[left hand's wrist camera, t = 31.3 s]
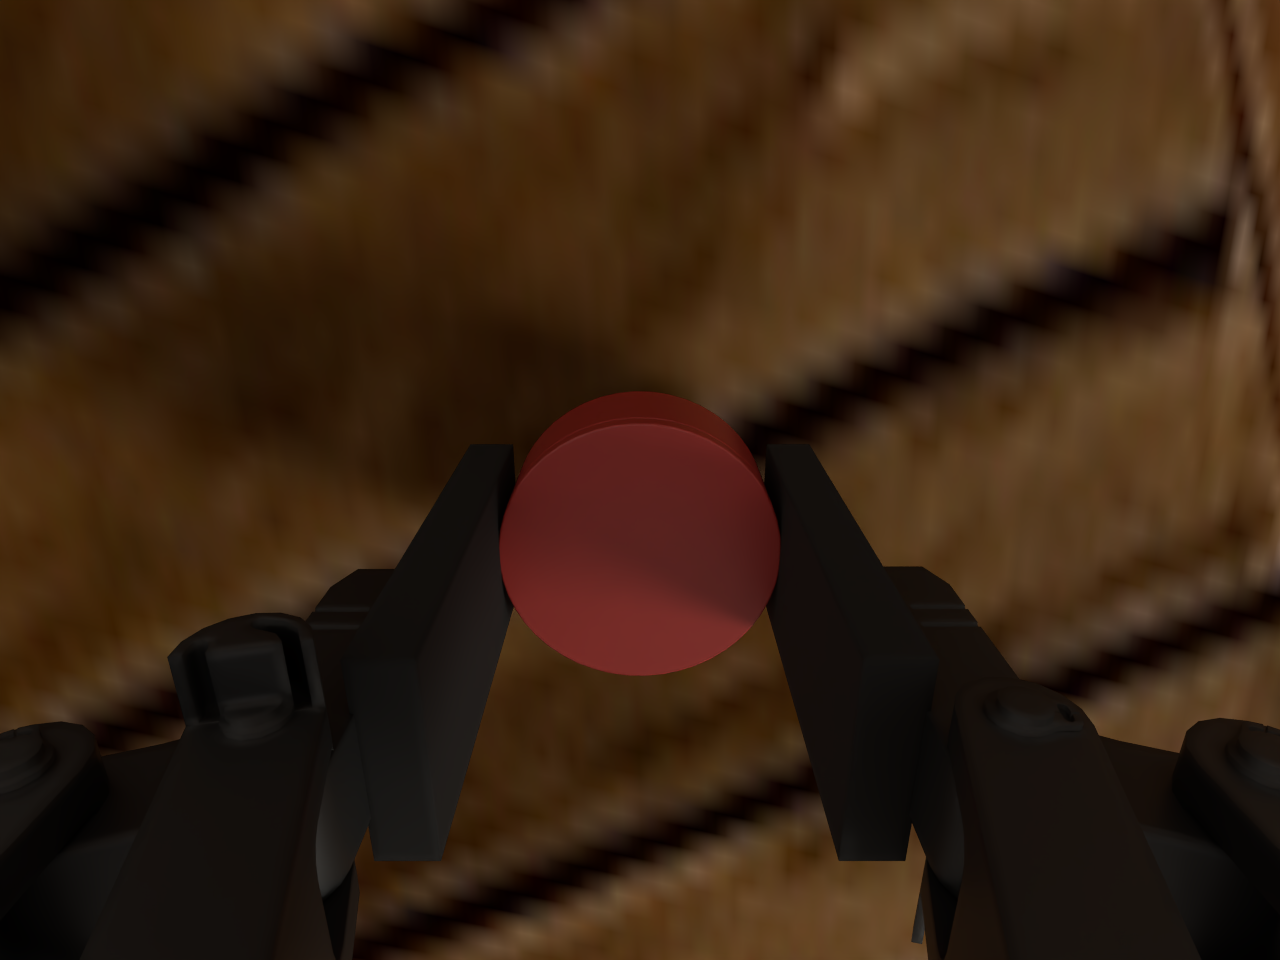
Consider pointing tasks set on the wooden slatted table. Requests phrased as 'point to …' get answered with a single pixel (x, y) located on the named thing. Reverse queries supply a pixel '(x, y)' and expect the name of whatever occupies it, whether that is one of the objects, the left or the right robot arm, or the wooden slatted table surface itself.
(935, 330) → the wooden slatted table surface
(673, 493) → the cap
